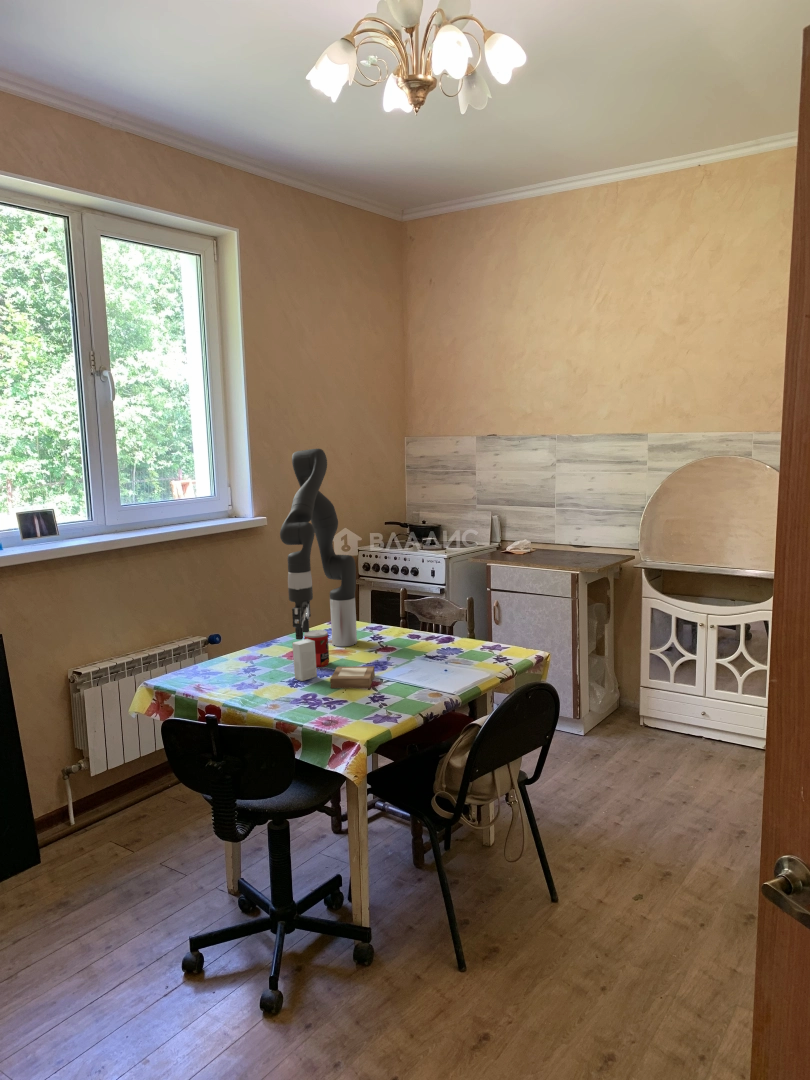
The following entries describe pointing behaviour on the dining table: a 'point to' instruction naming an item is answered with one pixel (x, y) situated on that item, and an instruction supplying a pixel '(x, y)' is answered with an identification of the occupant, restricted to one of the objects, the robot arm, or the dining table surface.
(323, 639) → the canned food
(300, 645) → the skincare box
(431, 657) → the dining table surface
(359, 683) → the base slab
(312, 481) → the robot arm
